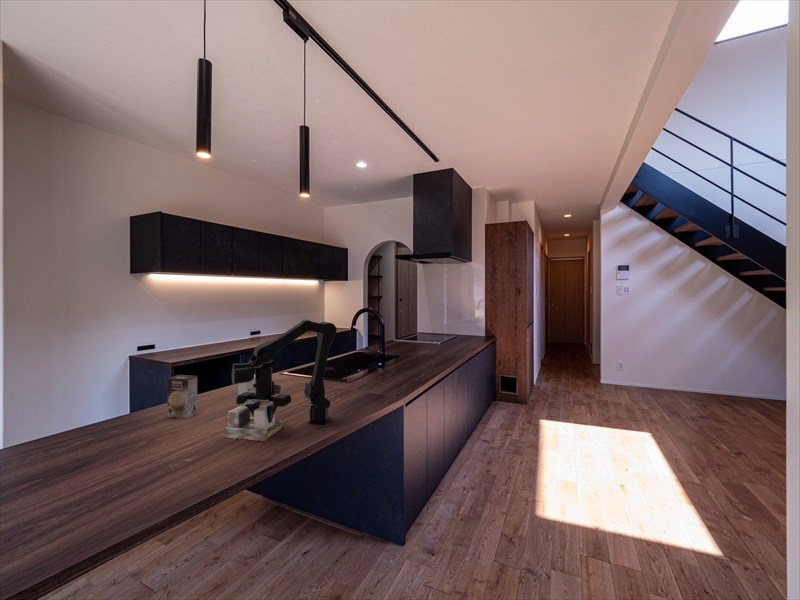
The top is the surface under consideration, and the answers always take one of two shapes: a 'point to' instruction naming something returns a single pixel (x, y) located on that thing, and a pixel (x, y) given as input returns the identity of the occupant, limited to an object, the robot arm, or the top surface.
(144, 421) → the top surface
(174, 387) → the coffee box
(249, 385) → the supplement box
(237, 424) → the beige clamp block
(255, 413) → the block
